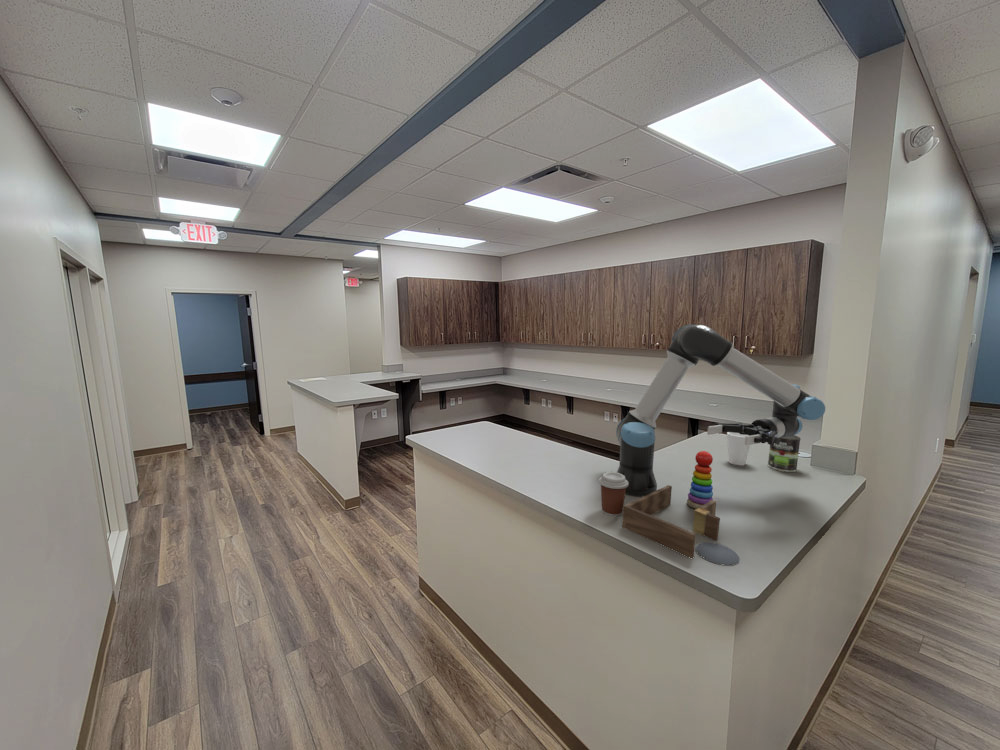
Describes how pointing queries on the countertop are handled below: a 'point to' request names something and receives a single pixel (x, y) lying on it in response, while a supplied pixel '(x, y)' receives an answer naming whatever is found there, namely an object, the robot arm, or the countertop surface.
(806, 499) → the countertop surface
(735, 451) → the foam cup
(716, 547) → the pad
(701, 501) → the stacking toy
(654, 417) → the robot arm
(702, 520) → the corner post
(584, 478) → the countertop surface
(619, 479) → the coffee cup
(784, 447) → the coffee can
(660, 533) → the brown open angular frame
